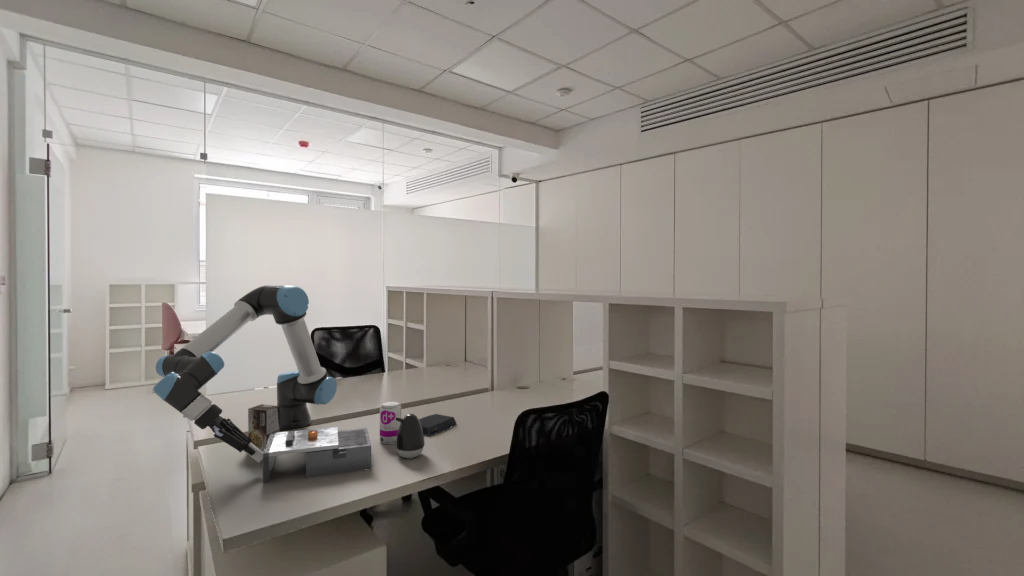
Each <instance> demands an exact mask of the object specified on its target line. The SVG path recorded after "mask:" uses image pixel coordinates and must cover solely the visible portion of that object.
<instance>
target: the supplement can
mask: <svg viewBox="0 0 1024 576" xmlns="http://www.w3.org/2000/svg"><path fill="white" fill-rule="evenodd" d="M380 404H381V405H380V406H379V442H380V443H381V444H382V443H383V444H382V445H387V444H389V445H396V444H395V443H396V438H397V433H398V429H399V426H400V424H401V422H399V421H396V420H395V419H396V417H397V418H402V405H401V403H400V402H399V401H394V400H392V401H391V400H388V401H385V402H382V403H380Z"/></svg>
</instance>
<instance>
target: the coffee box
mask: <svg viewBox="0 0 1024 576" xmlns="http://www.w3.org/2000/svg"><path fill="white" fill-rule="evenodd" d="M247 415H248V416H247V423H248V424H247V427H248V429H247V430H248V431H247V433H248V435H247V436H248V437H249V440H250V439H252V441H251V443H252V444H253V445H255V446H256V447H257V448H258V449H260V450H261V451H262V452H264V449H265V447H266V444H267V441H268V439H269V436H270V434H271V433H279V432H281V429H280V406H277V405H272V404H270V405H269V404H258V405H256V406H252V407H249V408H248V409H247Z"/></svg>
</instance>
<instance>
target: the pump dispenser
mask: <svg viewBox="0 0 1024 576" xmlns="http://www.w3.org/2000/svg"><path fill="white" fill-rule="evenodd" d="M419 419H420V418H418V416H417V415H416V414H414V413H407V414H406V415H404V417H403V418H402V417H401V418H397V417H396V419H395V420H396V421H399V422H401V424H400V426H399V429H398V433H397V438H396V444H395V448H396V452H397V453H398V455H399V456H400V457H401V458H404V459H414V457H415V458H416V457H419V456H420V455H421V454H422V452H423V451H424V447H425V444H426V443H425V436H424V434H423V429H422V426H421V423H420V421H419Z"/></svg>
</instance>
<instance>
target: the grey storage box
mask: <svg viewBox="0 0 1024 576" xmlns="http://www.w3.org/2000/svg"><path fill="white" fill-rule="evenodd" d="M368 431H369V430H368V428H367V427H361V428H353V429H343V430H342V429H341V430H338V448H337V449H328V450H320V451H311V452H305V478H315V477H321V476H322V477H323V476H330V474H331V475H338V473H339V474H345V473H352V471H354V472H359V471H358V470H361V471H366V470H365V469H369V470H372V443H371V438H370V435H369V432H368Z"/></svg>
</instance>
